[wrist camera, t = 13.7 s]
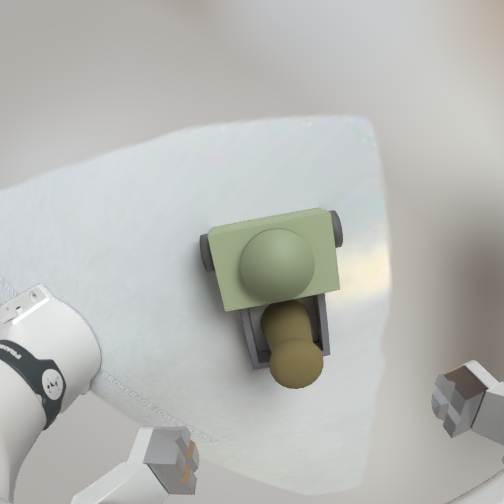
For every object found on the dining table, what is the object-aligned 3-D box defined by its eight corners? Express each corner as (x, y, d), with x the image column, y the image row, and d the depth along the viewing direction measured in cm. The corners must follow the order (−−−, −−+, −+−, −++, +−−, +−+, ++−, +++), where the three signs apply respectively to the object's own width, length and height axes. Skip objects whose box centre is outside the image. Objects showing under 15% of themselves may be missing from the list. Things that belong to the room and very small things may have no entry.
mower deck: (235, 361, 38) (233, 391, 32) (202, 229, 33) (193, 240, 27) (343, 340, 37) (357, 366, 31) (329, 206, 33) (346, 211, 27)
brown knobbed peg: (268, 347, 37) (275, 404, 26) (254, 307, 36) (257, 358, 25) (314, 333, 37) (335, 386, 26) (303, 292, 35) (324, 337, 25)
